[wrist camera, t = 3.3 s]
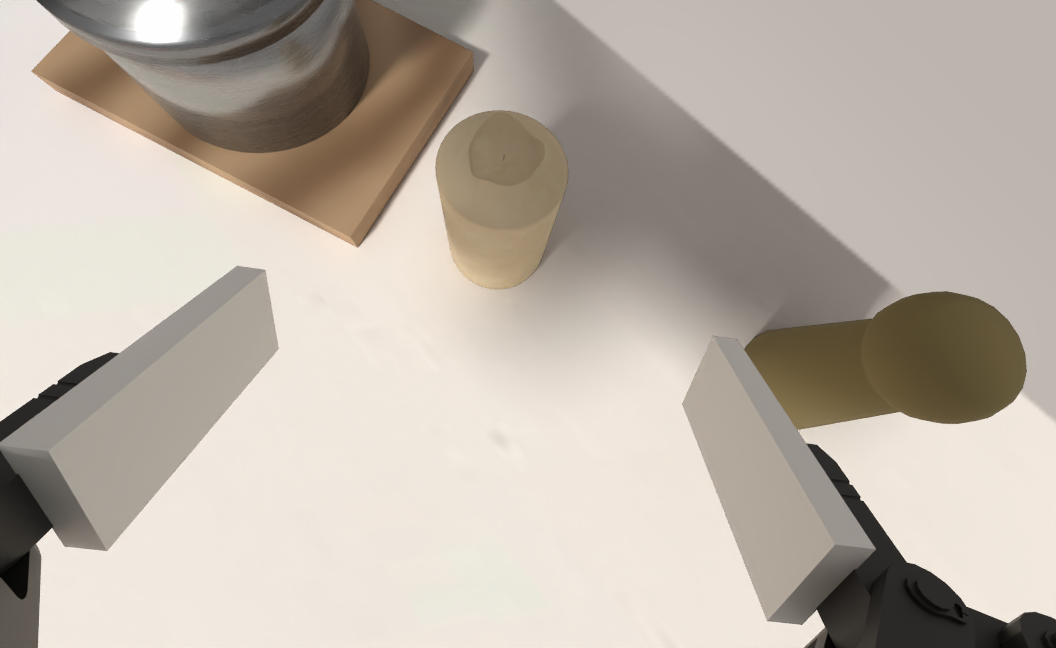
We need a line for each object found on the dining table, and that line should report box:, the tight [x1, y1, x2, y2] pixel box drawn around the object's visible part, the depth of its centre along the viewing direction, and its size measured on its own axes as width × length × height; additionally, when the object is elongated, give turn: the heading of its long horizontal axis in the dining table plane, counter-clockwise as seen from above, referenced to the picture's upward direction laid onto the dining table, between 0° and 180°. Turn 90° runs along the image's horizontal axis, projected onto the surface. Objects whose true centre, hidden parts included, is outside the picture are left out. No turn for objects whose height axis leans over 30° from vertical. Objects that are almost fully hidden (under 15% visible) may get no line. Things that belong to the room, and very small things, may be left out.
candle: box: [435, 111, 568, 289], centre depth 22 cm, size 6×6×10 cm
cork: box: [745, 292, 1027, 430], centre depth 22 cm, size 6×6×11 cm
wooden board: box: [31, 0, 474, 247], centre depth 27 cm, size 20×14×2 cm
